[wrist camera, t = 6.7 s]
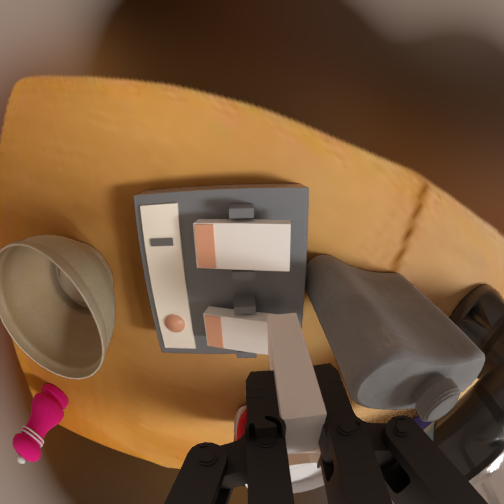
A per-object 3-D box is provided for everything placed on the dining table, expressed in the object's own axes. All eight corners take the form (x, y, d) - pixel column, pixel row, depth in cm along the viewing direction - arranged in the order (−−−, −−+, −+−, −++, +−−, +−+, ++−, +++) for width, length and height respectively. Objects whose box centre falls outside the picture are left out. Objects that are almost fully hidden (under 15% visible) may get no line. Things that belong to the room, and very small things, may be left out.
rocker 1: (290, 220, 23) (290, 224, 21) (289, 264, 24) (289, 272, 22) (198, 219, 24) (192, 223, 22) (202, 261, 25) (196, 268, 24)
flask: (293, 294, 32) (341, 444, 13) (309, 249, 30) (393, 381, 11) (392, 313, 33) (470, 418, 15) (409, 275, 31) (508, 369, 13)
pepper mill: (39, 376, 37) (-3, 443, 18) (66, 389, 38) (27, 464, 19) (47, 397, 39) (12, 461, 21) (73, 409, 40) (41, 479, 21)
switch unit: (299, 183, 27) (315, 191, 21) (293, 330, 33) (302, 363, 27) (147, 190, 27) (123, 199, 21) (168, 332, 33) (157, 365, 27)
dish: (224, 462, 46) (223, 480, 42) (314, 432, 43) (319, 452, 38) (275, 484, 53) (276, 499, 48) (350, 459, 49) (354, 474, 45)
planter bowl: (28, 272, 30) (-17, 306, 19) (72, 187, 26) (10, 206, 16) (102, 346, 34) (73, 397, 24) (164, 280, 31) (132, 336, 20)
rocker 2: (288, 315, 25) (285, 324, 24) (286, 347, 27) (283, 357, 25) (209, 306, 27) (202, 314, 26) (212, 337, 28) (207, 346, 27)
